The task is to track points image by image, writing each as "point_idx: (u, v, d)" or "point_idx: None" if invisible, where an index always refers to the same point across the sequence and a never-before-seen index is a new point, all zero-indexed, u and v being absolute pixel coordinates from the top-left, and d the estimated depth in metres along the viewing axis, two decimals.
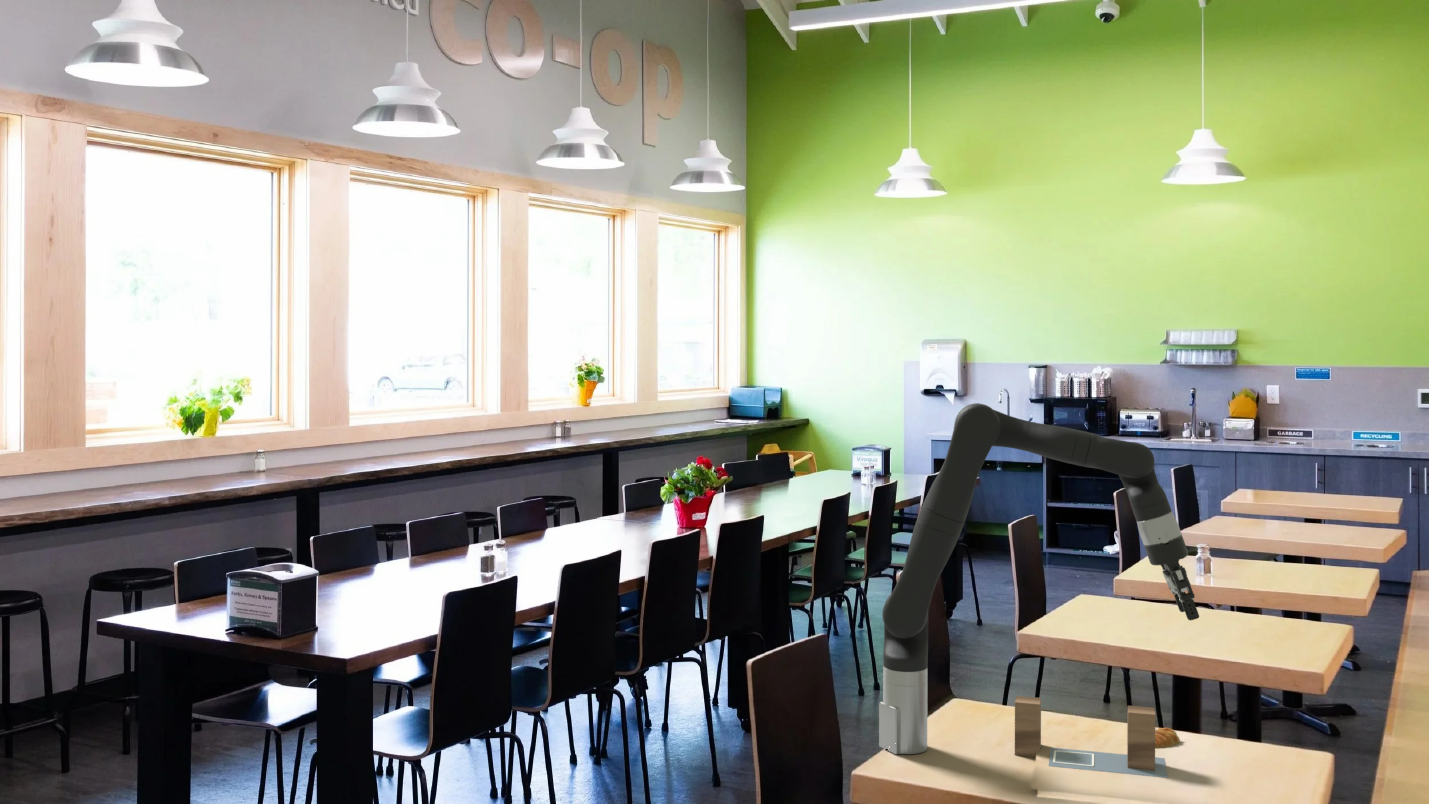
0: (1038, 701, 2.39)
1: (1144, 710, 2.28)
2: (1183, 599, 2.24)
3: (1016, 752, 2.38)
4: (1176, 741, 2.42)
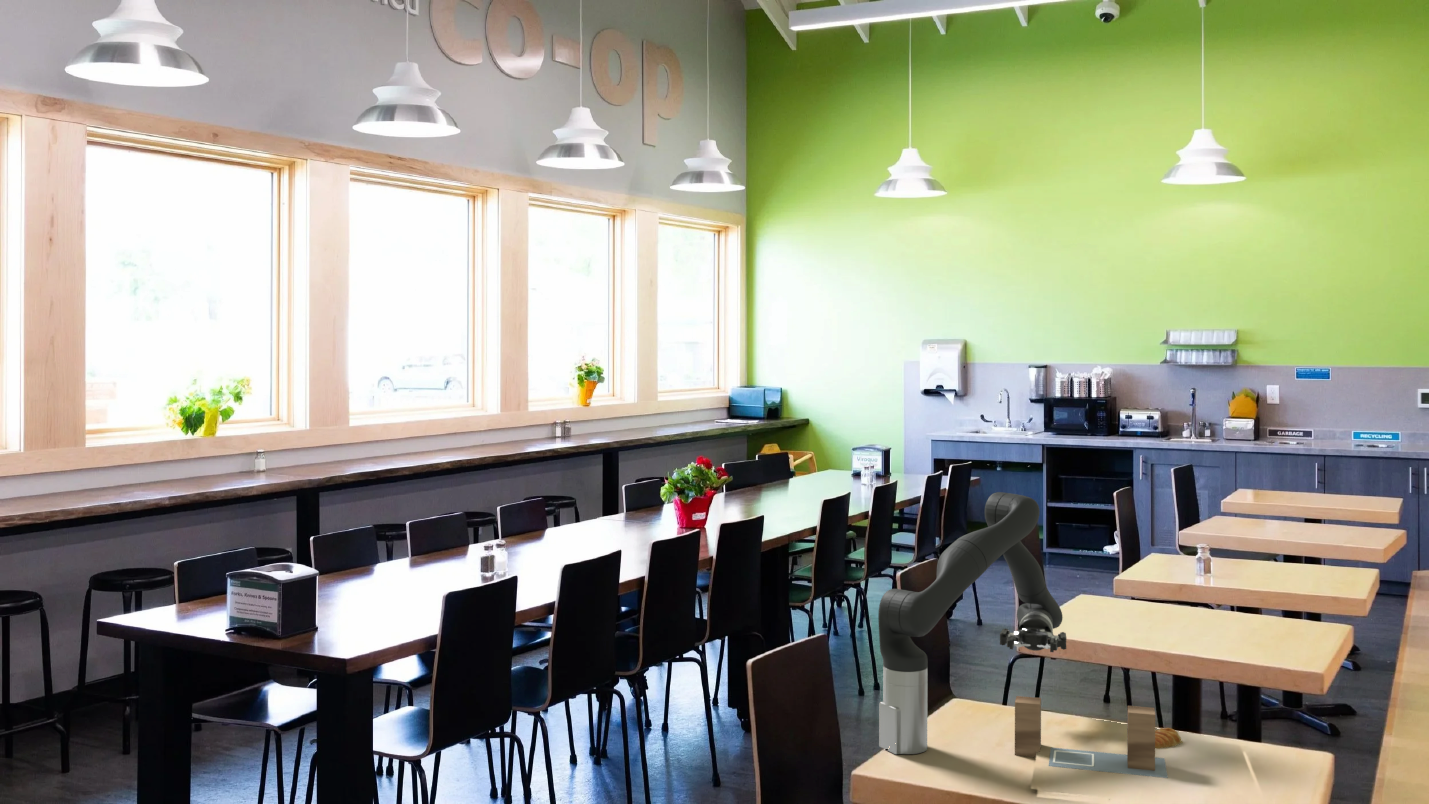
0: (1038, 701, 2.39)
1: (1144, 710, 2.28)
2: (1065, 639, 2.52)
3: (1016, 752, 2.38)
4: (1178, 741, 2.42)
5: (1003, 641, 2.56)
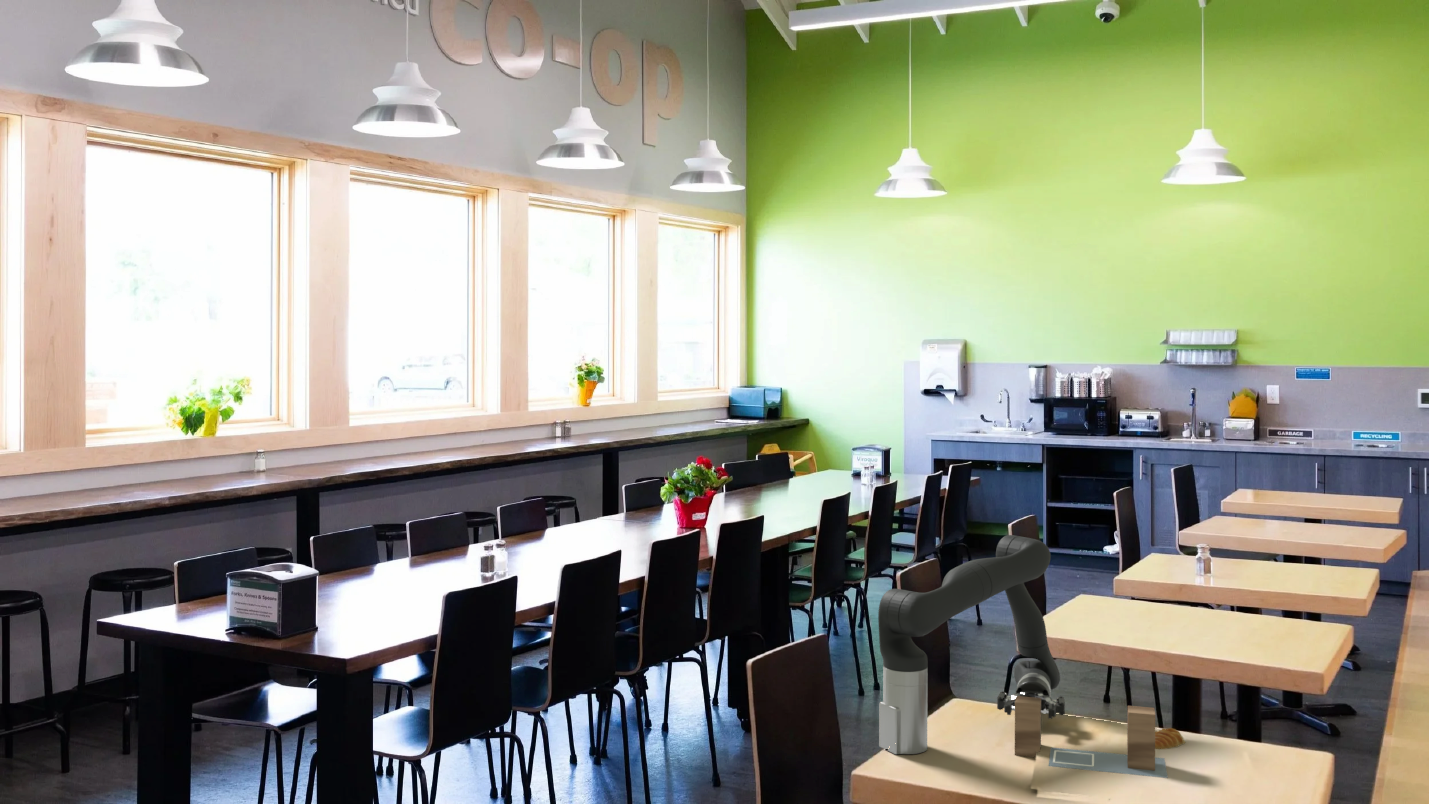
0: (1038, 701, 2.39)
1: (1144, 710, 2.28)
2: (1064, 704, 2.49)
3: (1016, 752, 2.38)
4: (1181, 742, 2.41)
5: (1001, 705, 2.53)
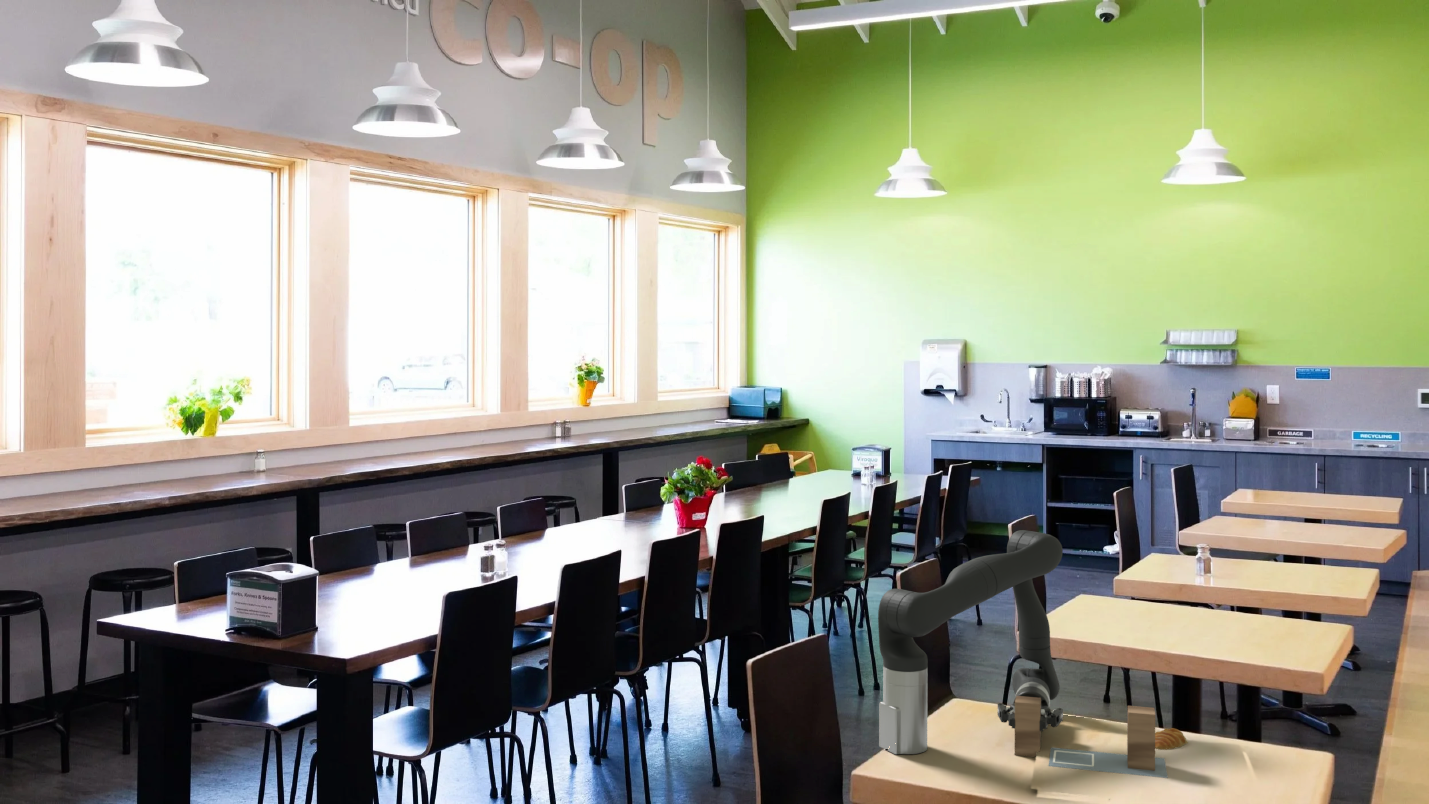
0: (1038, 701, 2.39)
1: (1144, 710, 2.28)
2: (1056, 716, 2.40)
3: (1016, 752, 2.38)
4: (1184, 742, 2.41)
5: (1005, 718, 2.43)
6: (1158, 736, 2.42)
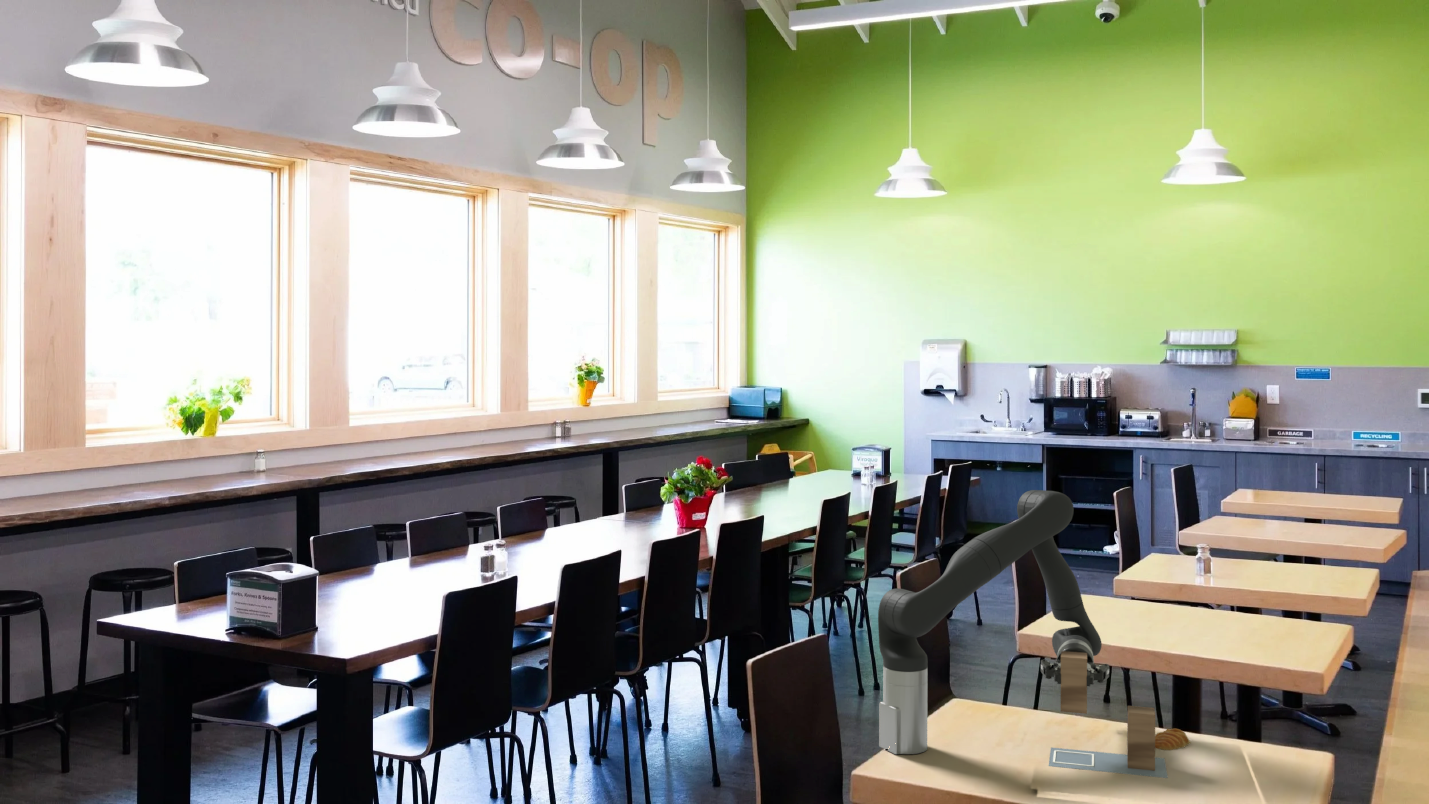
0: (1085, 656, 2.31)
1: (1144, 710, 2.28)
2: (1102, 672, 2.33)
3: (1062, 708, 2.31)
4: (1187, 742, 2.41)
5: (1049, 674, 2.35)
6: (1161, 736, 2.41)
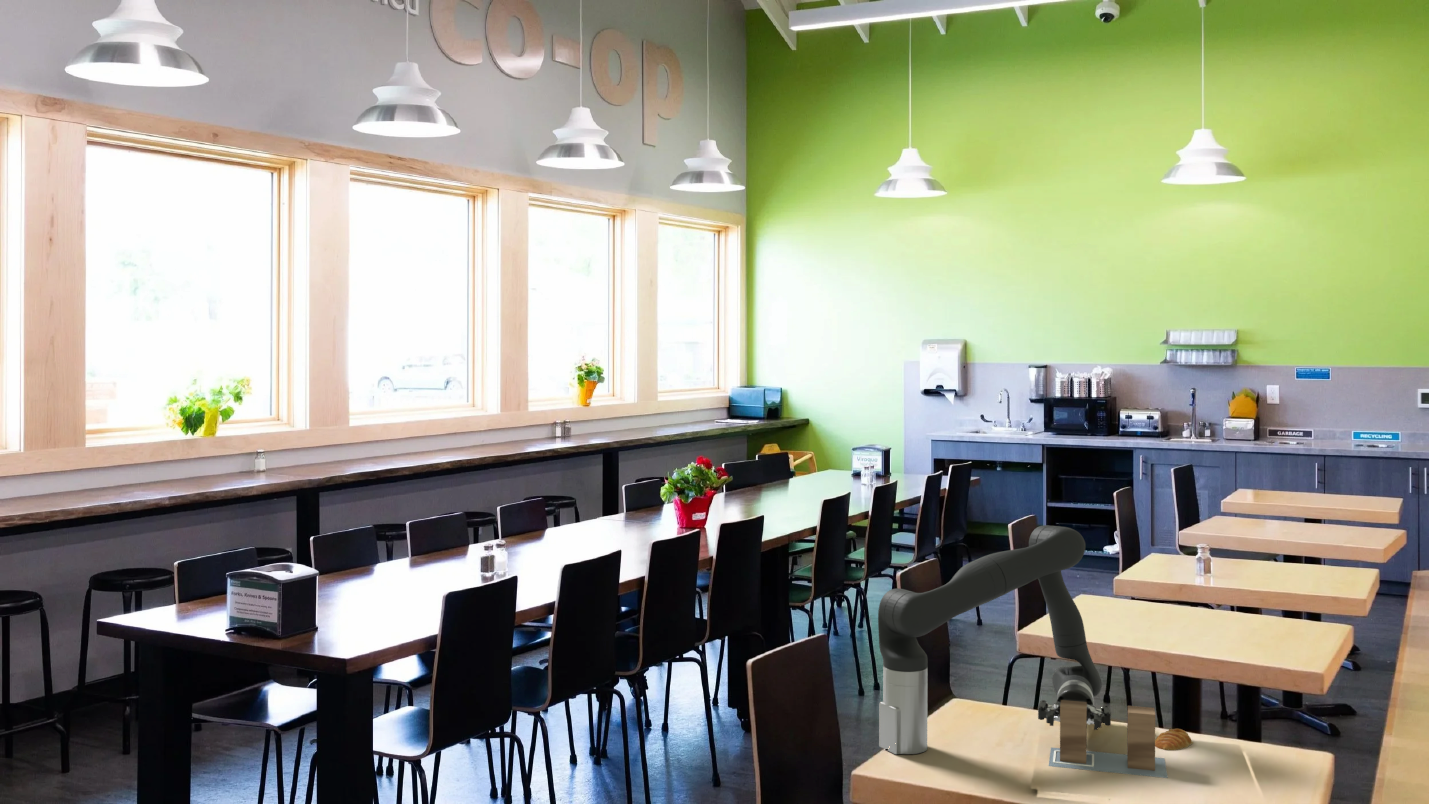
0: (1084, 705, 2.31)
1: (1144, 710, 2.28)
2: (1110, 715, 2.33)
3: (1061, 758, 2.31)
4: (1190, 742, 2.41)
5: (1042, 715, 2.37)
6: (1164, 737, 2.41)
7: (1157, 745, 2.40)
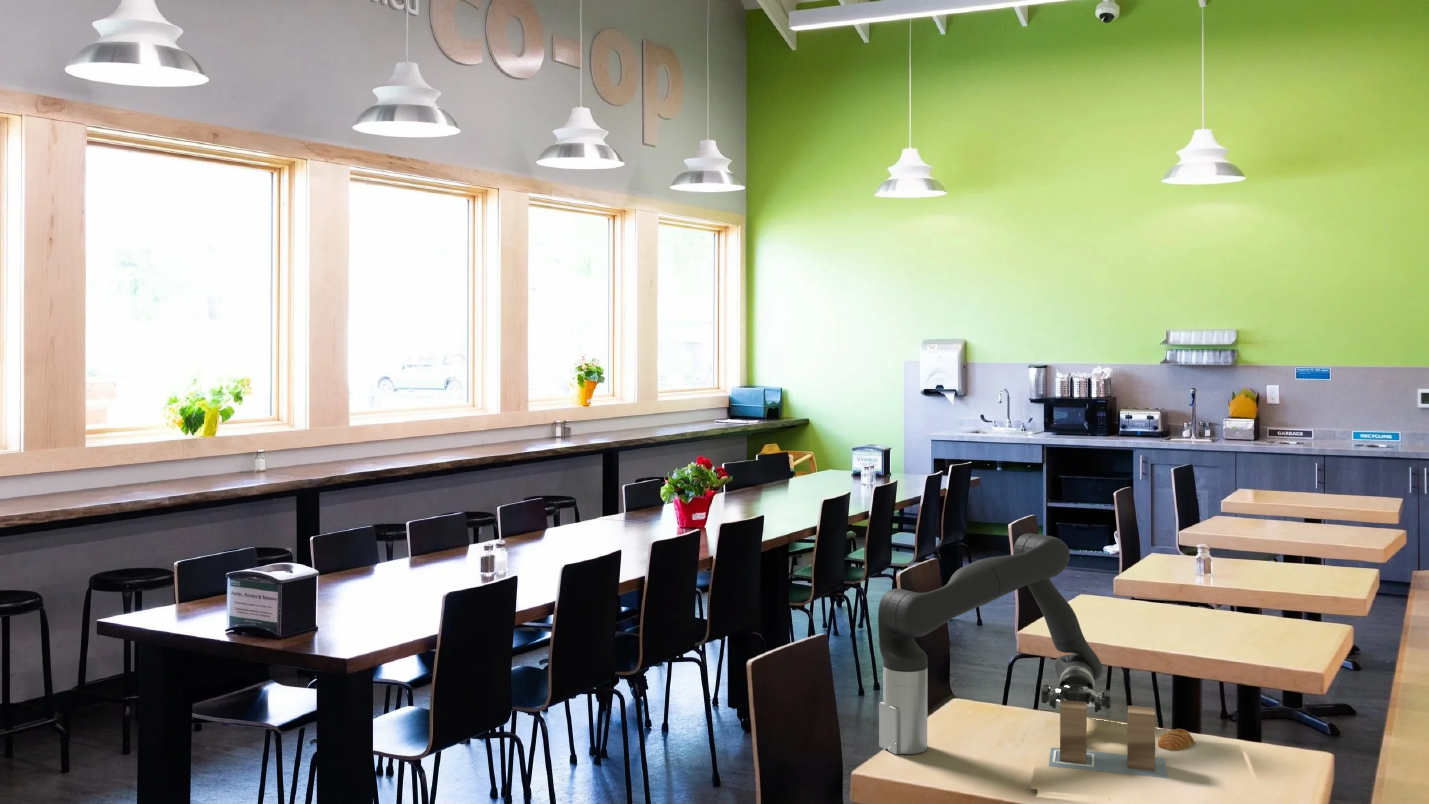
0: (1084, 705, 2.31)
1: (1144, 710, 2.28)
2: (1110, 698, 2.45)
3: (1061, 758, 2.31)
4: (1193, 742, 2.41)
5: (1045, 699, 2.49)
6: (1167, 737, 2.41)
7: (1161, 745, 2.39)
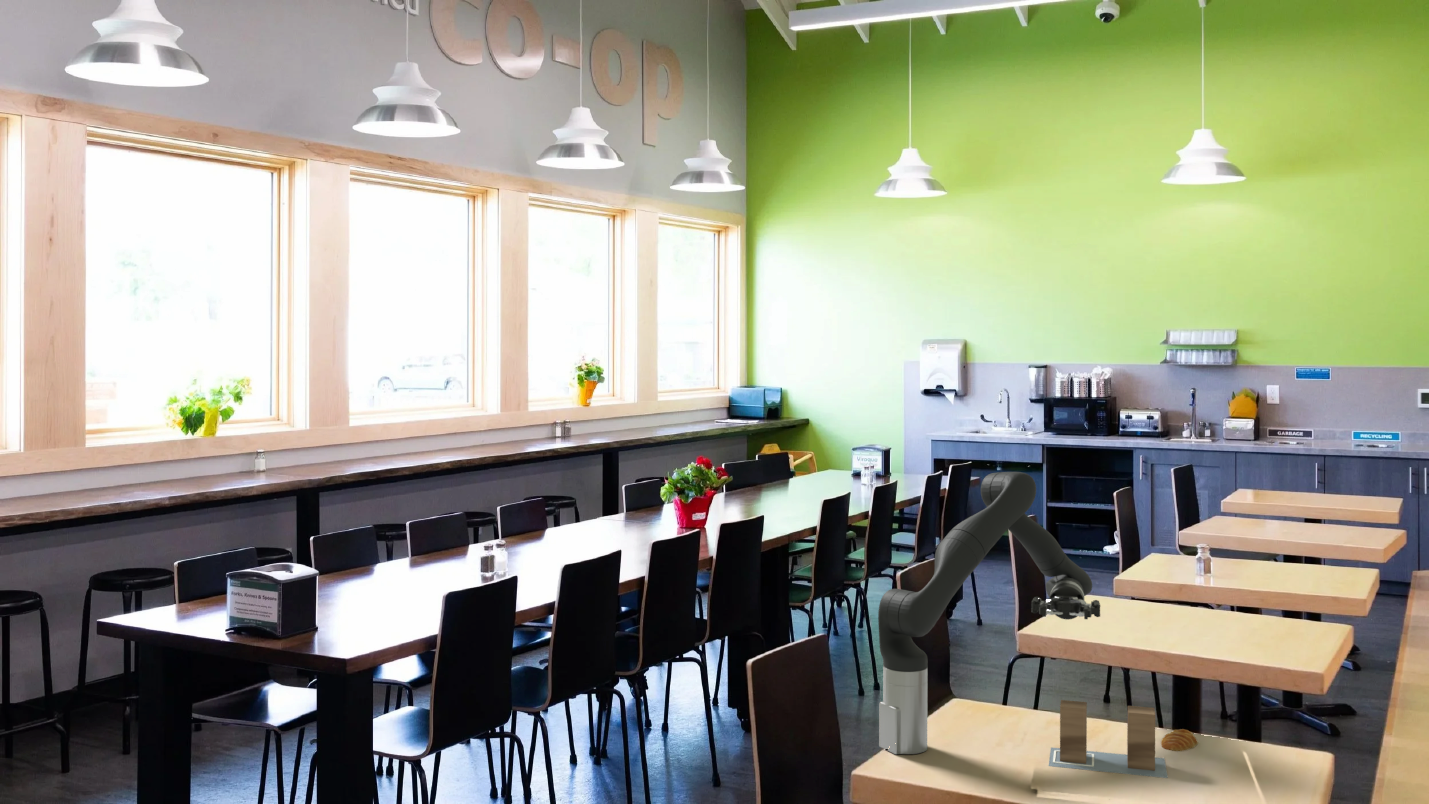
0: (1084, 705, 2.31)
1: (1144, 710, 2.28)
2: (1099, 606, 2.47)
3: (1061, 758, 2.31)
4: (1196, 743, 2.41)
5: (1035, 609, 2.51)
6: (1171, 738, 2.41)
7: (1164, 746, 2.39)
